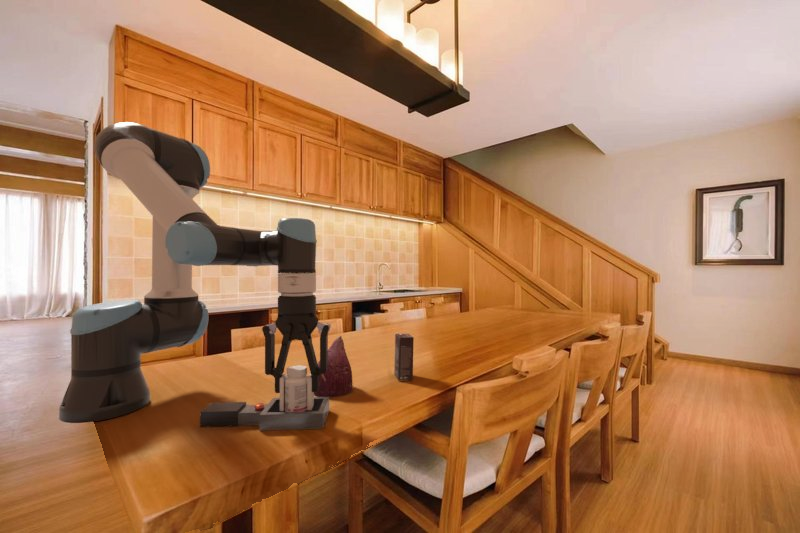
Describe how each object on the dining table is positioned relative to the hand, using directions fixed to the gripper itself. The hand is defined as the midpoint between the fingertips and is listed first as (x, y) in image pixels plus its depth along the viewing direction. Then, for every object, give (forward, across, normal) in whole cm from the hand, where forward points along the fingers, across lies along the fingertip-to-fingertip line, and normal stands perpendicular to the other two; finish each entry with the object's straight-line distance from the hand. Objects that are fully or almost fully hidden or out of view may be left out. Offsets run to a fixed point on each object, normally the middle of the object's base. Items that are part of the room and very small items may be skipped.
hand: (297, 407), depth 70 cm
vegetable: (+3, +5, +17) cm, 18 cm away
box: (+3, +24, +26) cm, 36 cm away
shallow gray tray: (+2, -6, 0) cm, 7 cm away
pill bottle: (+1, 0, 0) cm, 1 cm away
